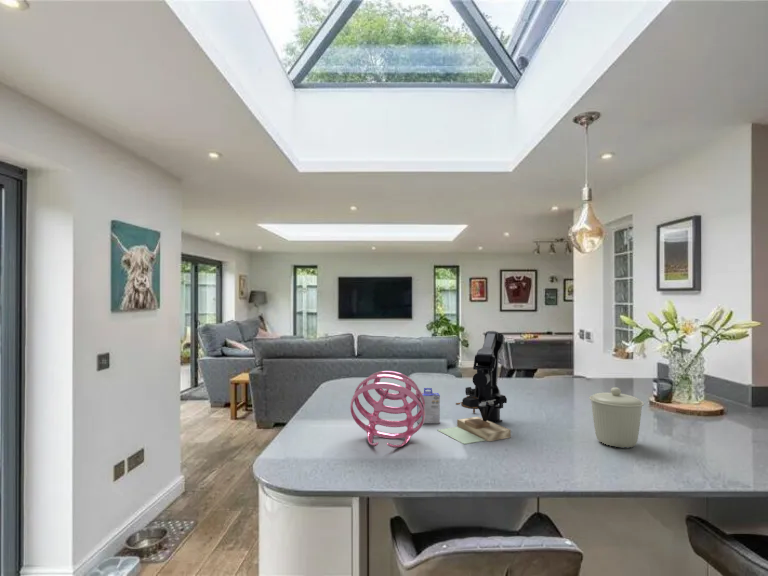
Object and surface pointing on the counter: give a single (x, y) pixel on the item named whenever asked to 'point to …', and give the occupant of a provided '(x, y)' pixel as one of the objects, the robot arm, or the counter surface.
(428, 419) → the ink cartridge box
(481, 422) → the walnut coaster
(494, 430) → the board
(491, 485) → the counter surface
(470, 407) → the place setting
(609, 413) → the canister
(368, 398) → the spiral basket
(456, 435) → the sage mat
